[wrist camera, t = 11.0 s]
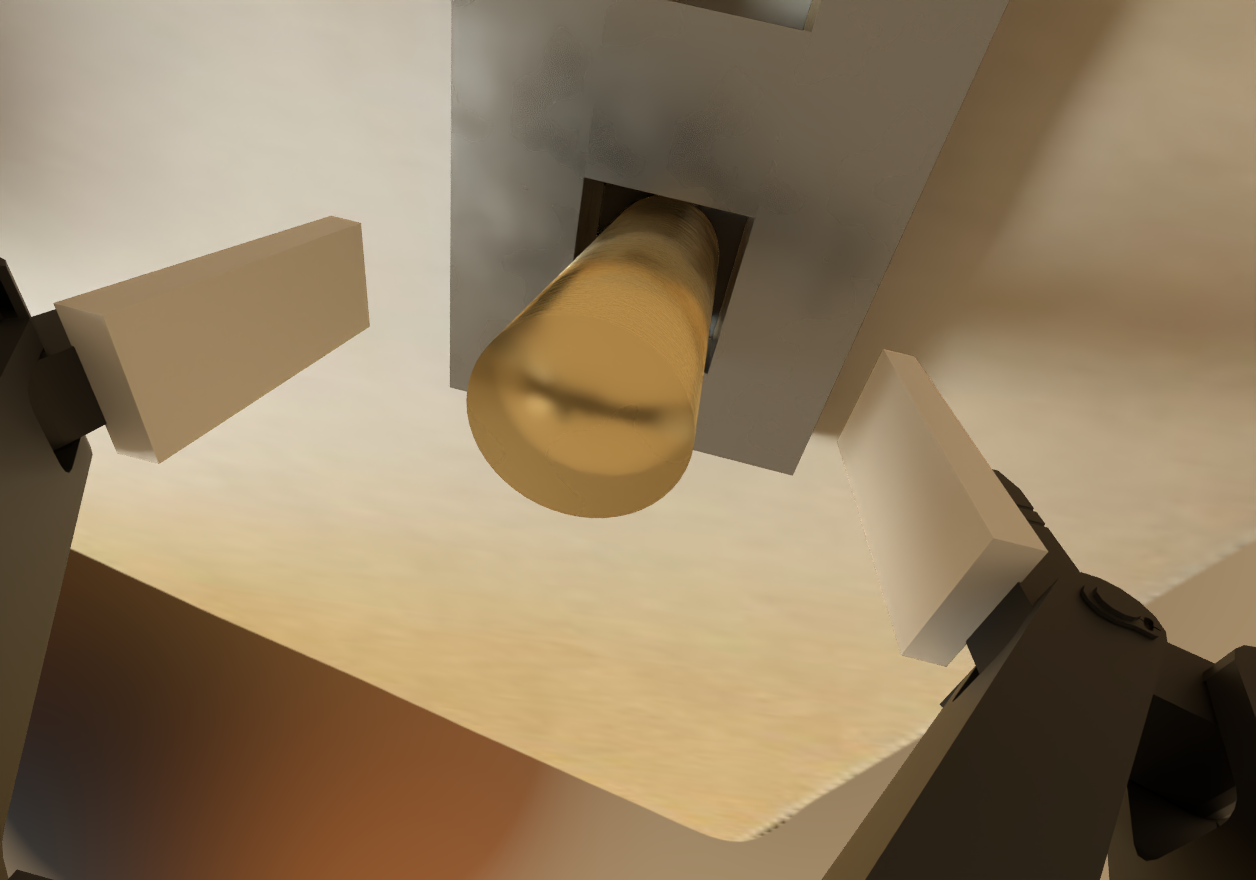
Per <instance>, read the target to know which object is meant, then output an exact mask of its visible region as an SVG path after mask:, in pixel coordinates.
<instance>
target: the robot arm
mask: <svg viewBox="0 0 1256 880" xmlns="http://www.w3.org/2000/svg"><path fill="white" fill-rule="evenodd" d="M54 306H55V308H56V309H55V310H52V311H49V312H46V313H42V314H39V315H36V316H33V317H31V315H30V313H29V311H28V309H27V306H26V304H25V302H24V300H23V298H22V295H21V293H20V291H19V289H18V287H17V285H16V282H15V280H14V278H13V276H12V274H11V271H10V269H9V267H8V265H7V263H6V260H4V259H2V258H0V880H52V879H48V878H45V877H41V876H38V875H34V874H31V873H27V872H23V871H20V870H16V871H15V872H14V873H13V875H12V876H11V877H10V878H9V879H8V875H7V871H6V867H5V864H4V860H3V851H2V840H3V832H4V826H5V822H6V818H7V813H8V809H9V805H10V800H11V797H12V792H13V788H14V783H15V780H16V775H17V771H18V767H19V762H20V758H21V754H22V750H23V746H24V741H25V737H26V733H27V729H28V725H29V720H30V716H31V712H32V708H33V703H34V699H35V695H36V691H37V687H38V682H39V678H40V674H41V669H42V666H43V661H44V657H45V653H46V649H47V644H48V640H49V636H50V631H51V627H52V623H53V618H54V615H55V611H56V606H57V602H58V598H59V594H60V589H61V585H62V581H63V577H64V573H65V568H66V564H67V560H68V556H69V551H70V547H71V543H72V539H73V535H74V530H75V526H76V522H77V518H78V513H79V509H80V505H81V501H82V496H83V492H84V488H85V484H86V480H87V475H88V471H89V467H90V463H91V458H92V450H91V447H90V444H89V442H88V440H87V438H86V436H85V435H86V434H88V433H90V432H92V431H94V430H95V429H97V428H99V427H101V426H103V425H106V428H107V430H108V432H109V435H110V437H111V440H112V442H113V444H114V447H115V449H116V451H117V453H118V454H122V455H126V456H130V457H134V458H138V459H142V460H145V461H149V462H153V463H157V464H159V463H161V462H163V461H164V460H166V459H167V458H169V457H170V456H172V455H173V454H175V453H176V452H178V451H179V450H181V449H182V448H184V447H186V446H187V445H189V444H190V443H192V442H193V441H195V440H196V439H198V438H199V437H201V436H202V435H204V434H205V433H207V432H208V431H210V430H212V429H213V428H215V427H216V426H218V425H219V424H221V423H222V422H224V421H225V420H227V419H228V418H230V417H231V416H233V415H235V414H236V413H238V412H239V411H241V410H242V409H244V408H245V407H247V406H248V405H250V404H251V403H253V402H254V401H256V400H258V399H259V398H261V397H262V396H264V395H265V394H267V393H268V392H270V391H271V390H273V389H274V388H276V387H277V386H279V385H281V384H282V383H284V382H285V381H287V380H288V379H290V378H291V377H293V376H294V375H296V374H297V373H299V372H300V371H302V370H303V369H305V368H307V367H308V366H310V365H311V364H313V363H314V362H316V361H317V360H319V359H320V358H322V357H323V356H325V355H326V354H328V353H330V352H331V351H333V350H334V349H336V348H337V347H339V346H340V345H342V344H343V343H345V342H346V341H348V340H349V339H351V338H353V337H354V336H356V335H357V334H359V333H360V332H362V331H363V330H365V329H366V328H368V327H369V326H370V323H369V312H368V300H367V289H366V277H365V266H364V254H363V243H362V231H361V223H359V222H355V221H351V220H346V219H342V218H338V217H334V216H329V217H326V218H323V219H320V220H317V221H313V222H310V223H307V224H304V225H301V226H297V227H294V228H291V229H288V230H285V231H282V232H278V233H275V234H272V235H269V236H266V237H262V238H259V239H256V240H253V241H250V242H247V243H243V244H240V245H237V246H234V247H231V248H227V249H224V250H221V251H218V252H215V253H212V254H208V255H205V256H202V257H199V258H196V259H192V260H189V261H186V262H183V263H180V264H177V265H173V266H170V267H167V268H164V269H161V270H158V271H154V272H151V273H148V274H145V275H142V276H138V277H135V278H132V279H129V280H126V281H123V282H119V283H116V284H113V285H110V286H107V287H103V288H100V289H97V290H94V291H91V292H88V293H84V294H81V295H78V296H75V297H72V298H68V299H65V300H62V301H59V302H56V303H54ZM837 443H838V446H839V449H840V453H841V456H842V459H843V463H844V466H845V469H846V473H847V476H848V479H849V483H850V486H851V489H852V493H853V496H854V499H855V503H856V506H857V509H858V513H859V516H860V519H861V523H862V526H863V530H864V533H865V536H866V540H867V543H868V546H869V550H870V553H871V556H872V560H873V563H874V566H875V570H876V573H877V576H878V580H879V583H880V586H881V590H882V593H883V596H884V600H885V603H886V606H887V610H888V613H889V616H890V620H891V623H892V626H893V630H894V633H895V636H896V640H897V643H898V647H899V650H900V653H901V655H902V656H906V657H910V658H914V659H918V660H922V661H926V662H930V663H934V664H937V665H941V666H945V667H947V666H948V664H949V663H950V662H951V661H952V660H953V659H954V658H955V657H956V655H957V654H958V653H959V652H960V651H961V650H962V649H963V647H964V646H965V645H966V644H967V646H968V648H969V651H970V653H971V655H972V658H973V660H974V662H975V665H976V666H975V667H974V668H973V669H972V670H971V671H970V673H969V674H968V675H967V676H966V677H965V678H964V679H963V680H962V681H961V682H960V683H959V684H958V685H957V686H956V687H955V689H954V690H953V691H952V692H951V693H950V694H949V695H948V696H947V697H946V698H945V699H944V700H943V701H942V702H941V703H940V705H941V706H942V707H943V709H942V710H941V712H940V713H939V714H938V716H937V717H936V719H935V720H934V721H933V723H932V724H931V726H930V727H929V728H928V730H927V731H926V733H925V734H924V736H923V737H922V738H921V740H920V741H919V743H918V744H917V745H916V747H915V748H914V750H913V751H912V753H911V754H910V755H909V757H908V758H907V760H906V761H905V763H904V764H903V765H902V767H901V768H900V770H899V771H898V772H897V774H896V775H895V777H894V778H893V779H892V781H891V782H890V784H889V785H888V787H887V788H886V789H885V791H884V792H883V794H882V795H881V797H880V798H879V799H878V801H877V802H876V804H875V805H874V806H873V808H872V809H871V811H870V812H869V813H868V815H867V816H866V818H865V819H864V820H863V822H862V823H861V825H860V826H859V828H858V829H857V830H856V832H855V833H854V835H853V836H852V838H851V839H850V841H849V842H848V843H847V845H846V846H845V847H844V849H843V850H842V852H841V853H840V855H839V856H838V857H837V859H836V860H835V862H834V863H833V864H832V866H831V867H830V869H829V870H828V871H827V873H826V874H825V876H824V877H823V879H822V880H1100V878H1101V874H1102V871H1103V867H1104V864H1105V860H1106V857H1107V853H1108V866H1109V879H1110V880H1256V647H1252V646H1245V645H1244V646H1241V647H1239V648H1236V649H1235V650H1233V651H1232V652H1230V653H1229V654H1228V655H1226V656H1225V657H1223V658H1222V659H1221V660H1219V661H1218V662H1217V663H1212V662H1210V661H1208V660H1206V659H1203V658H1201V657H1199V656H1197V655H1195V654H1192V653H1190V652H1188V651H1185V650H1183V649H1181V648H1179V647H1177V646H1174V645H1172V644H1170V643H1168V642H1167V637H1166V631H1165V630H1164V628H1163V627H1162V626H1161V624H1160V623H1159V621H1158V620H1157V618H1156V617H1155V616H1154V615H1153V614H1152V613H1151V612H1150V611H1149V610H1148V609H1146V608H1145V607H1144V606H1143V605H1142V604H1141V603H1140V602H1139V601H1137V600H1136V599H1135V598H1133V597H1132V596H1130V595H1129V594H1127V593H1126V592H1125V591H1123V590H1122V589H1120V588H1118V587H1116V586H1114V585H1112V584H1110V583H1108V582H1106V581H1104V580H1102V579H1101V578H1098V577H1095V576H1091V575H1088V574H1085V573H1082V572H1079V570H1078V569H1077V567H1076V566H1075V565H1074V563H1073V562H1072V560H1071V559H1070V558H1069V556H1068V555H1067V554H1066V552H1065V551H1064V549H1063V548H1062V547H1061V545H1060V544H1059V542H1058V541H1057V540H1056V538H1055V537H1054V536H1053V534H1052V533H1051V531H1050V530H1049V529H1048V528H1047V527H1044V525H1045V523H1044V522H1043V520H1042V519H1041V517H1040V516H1039V515H1038V513H1037V512H1035V511H1033V509H1034V508H1033V506H1032V505H1031V504H1030V502H1029V501H1028V499H1027V498H1026V497H1025V495H1024V494H1023V493H1022V491H1021V490H1020V489H1019V488H1018V487H1017V486H1016V485H1014V484H1013V483H1012V482H1011V481H1010V480H1008V479H1007V478H1006V477H1005V476H1004V475H1003V474H1001V473H1000V472H999V471H997V470H993V469H991V467H990V466H989V464H988V463H987V461H986V460H985V458H984V457H983V456H982V454H981V453H980V451H979V450H978V448H977V447H976V445H975V444H974V442H973V441H972V440H971V438H970V437H969V435H968V434H967V432H966V431H965V429H964V428H963V426H962V425H961V423H960V422H959V421H958V419H957V418H956V416H955V415H954V413H953V412H952V410H951V409H950V407H949V406H948V404H947V403H946V402H945V400H944V399H943V397H942V396H941V394H940V393H939V391H938V390H937V388H936V387H935V385H934V384H933V383H932V381H931V380H930V378H929V377H928V375H927V374H926V372H925V371H924V369H923V368H922V367H921V365H920V364H919V362H918V361H917V359H916V358H915V356H911V355H907V354H903V353H899V352H895V351H890V350H886V349H883V350H882V352H881V354H880V356H879V358H878V360H877V362H876V364H875V366H874V368H873V370H872V372H871V374H870V376H869V378H868V380H867V382H866V384H865V386H864V388H863V390H862V392H861V394H860V396H859V398H858V400H857V402H856V404H855V406H854V409H853V411H852V413H851V415H850V417H849V419H848V421H847V423H846V425H845V427H844V429H843V431H842V433H841V435H840V437H839V439H838V441H837Z"/></svg>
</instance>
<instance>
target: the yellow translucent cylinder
mask: <svg viewBox="0 0 1256 880" xmlns="http://www.w3.org/2000/svg"><path fill="white" fill-rule="evenodd" d="M718 265H719V244H718V239H717V236H716V232H715V230H714V228H713V226H712V224H711V223H710V221H709V219H708V218H707V217H706V216H705V214H704V213H703V212H702V211H701V210H700V209H698V208H697V207H696V206H695V205H693V204H692V203H690V202H686V201H682V200H678V199H673V198H669V197H665V196H661V195H657V196H651V197H647V198H644V199H641V200H639V201H637V202H635V203H634V204H632V205H630V206H629V207H628V208H627V209H625V210H624V211H623V212H622V213H621V214H620V215H619V216H618V217H617V218H616V219H615V220H614V221H613V222H612V223H611V224H610V225H609V226H608V227H607V228H606V229H605V230H604V231H603V232H602V233H601V234H600V235H599V236H598V237H597V238H596V239H595V240H594V241H593V242H592V243H591V244H590V245H589V246H588V247H587V248H586V249H585V250H584V251H583V252H582V253H581V254H580V255H579V256H578V257H577V258H576V259H575V260H574V261H573V262H572V263H571V264H570V265H569V266H568V267H567V268H566V269H565V270H564V271H563V272H562V273H561V274H560V275H559V276H558V277H557V278H555V279H554V280H553V281H552V282H551V283H550V284H549V285H548V286H547V287H546V288H545V289H544V290H543V291H542V292H541V293H540V294H539V295H538V296H537V297H536V298H535V299H534V300H533V301H532V302H531V303H530V304H529V305H528V306H527V307H526V308H525V309H524V310H523V311H522V312H521V313H520V314H519V315H518V316H517V317H516V318H515V319H514V320H513V321H512V322H511V323H510V324H509V325H508V326H507V327H506V328H505V329H504V330H503V331H502V332H501V333H500V334H499V335H498V336H497V337H496V338H495V339H494V340H493V341H492V342H491V343H490V344H489V345H488V346H487V347H486V348H485V349H484V351H483V352H482V354H481V355H480V357H479V358H478V360H477V361H476V363H475V366H474V368H473V370H472V373H471V376H470V380H469V383H468V389H467V414H468V419H469V424H470V427H471V430H472V433H473V436H474V439H475V441H476V443H477V445H478V447H479V449H480V451H481V452H482V454H483V456H484V457H485V459H486V460H487V462H488V463H489V464H490V466H491V467H492V468H493V469H494V471H495V472H496V473H497V474H498V475H499V476H500V477H501V478H502V479H503V480H504V481H505V482H506V483H508V484H509V485H510V486H511V487H512V488H514V489H515V490H516V491H518V492H519V493H521V494H522V495H524V496H525V497H526V498H528V499H530V500H532V501H534V502H536V503H537V504H540V505H542V506H544V507H547V508H549V509H551V510H554V511H558V512H561V513H564V514H569V515H573V516H579V517H588V518H608V517H617V516H622V515H626V514H630V513H633V512H636V511H639V510H642V509H644V508H646V507H648V506H650V505H652V504H654V503H655V502H657V501H658V500H659V499H661V498H662V497H664V496H665V495H666V494H667V493H668V492H669V491H670V490H671V489H672V488H673V487H674V486H675V485H676V484H677V482H678V481H679V480H680V478H681V477H682V475H683V473H684V472H685V470H686V468H687V466H688V463H689V461H690V458H691V455H692V451H693V446H694V440H695V433H696V426H697V418H698V411H699V404H700V396H701V389H702V382H703V375H704V367H705V360H706V353H707V345H708V338H709V331H710V324H711V316H712V309H713V302H714V294H715V287H716V280H717V273H718Z"/></svg>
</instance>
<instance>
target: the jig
mask: <svg viewBox="0 0 1256 880" xmlns="http://www.w3.org/2000/svg"><path fill="white" fill-rule="evenodd" d="M1008 2H1009V0H812V2H811V5H810V9H809V12H808V16H807V19H806V22H805V26H804V29H803V30H799V29H794V28H790V27H785V26H781V25H776V24H772V23H767V22H763V21H758V20H754V19H749V18H745V17H740V16H736V15H731V14H727V13H722V12H718V11H713V10H709V9H704V8H700V7H695V6H691V5H686V4H682V3H677V2H673V1H668V0H452V36H451V263H450V387H451V388H455V389H459V390H463V391H467V389H468V383H469V380H470V376H471V373H472V370H473V368H474V366H475V363H476V361H477V360H478V358H479V357H480V355H481V354H482V352H483V351H484V349H485V348H486V347H487V346H488V345H489V344H490V343H491V342H492V341H493V340H494V339H495V338H496V337H497V336H498V335H499V334H500V333H501V332H502V331H503V330H504V329H505V328H506V327H507V326H508V325H509V324H510V323H511V322H512V321H513V320H514V319H515V318H516V317H517V316H518V315H519V314H520V313H521V312H522V311H523V310H524V309H525V308H526V307H527V306H528V305H529V304H530V303H531V302H532V301H533V300H534V299H535V298H536V297H537V296H538V295H539V294H540V293H541V292H542V291H543V290H544V289H545V288H546V287H547V286H548V285H549V284H550V283H551V282H552V281H553V280H554V279H555V278H557V277H558V276H559V275H560V274H561V273H562V272H563V271H564V270H565V269H566V268H567V267H568V266H569V265H570V264H571V263H572V262H573V261H574V260H575V259H576V258H577V257H578V256H579V255H580V254H581V253H582V252H583V251H584V250H585V249H586V248H587V247H588V246H589V245H590V244H591V243H592V242H593V241H594V240H595V239H596V236H597V230H598V223H599V217H600V210H601V203H602V197H603V190H604V183H605V182H606V183H610V184H615V185H619V186H623V187H627V188H631V189H636V190H640V191H644V192H648V193H652V194H657V195H661V196H665V197H669V198H673V199H678V200H682V201H686V202H690V203H694V204H699V205H703V206H707V207H711V208H715V209H720V210H724V211H728V212H732V213H736V214H741V215H745V216H748V218H747V222H746V225H745V228H744V232H743V235H742V238H741V242H740V245H739V249H738V252H737V255H736V259H735V262H734V266H733V269H732V272H731V276H730V279H729V282H728V286H727V289H726V293H725V296H724V299H723V303H722V306H721V309H720V313H719V316H718V320H717V323H716V326H715V330H714V333H713V336H712V338H711V337H709V338H708V345H707V353H706V360H705V367H704V375H703V382H702V389H701V396H700V404H699V411H698V418H697V426H696V433H695V440H694V446H693V450H696V451H699V452H703V453H707V454H711V455H715V456H719V457H723V458H727V459H730V460H734V461H738V462H742V463H746V464H750V465H754V466H758V467H761V468H765V469H769V470H773V471H777V472H781V473H785V474H789V475H792V476H793V474H794V471H795V469H796V467H797V465H798V463H799V460H800V458H801V456H802V454H803V452H804V450H805V447H806V445H807V443H808V441H809V439H810V436H811V434H812V432H813V430H814V428H815V425H816V423H817V421H818V419H819V417H820V414H821V412H822V410H823V408H824V406H825V403H826V401H827V399H828V397H829V395H830V392H831V390H832V388H833V386H834V384H835V381H836V379H837V377H838V375H839V373H840V371H841V368H842V366H843V364H844V362H845V360H846V357H847V355H848V353H849V351H850V349H851V346H852V344H853V342H854V340H855V338H856V335H857V333H858V331H859V329H860V327H861V324H862V322H863V320H864V318H865V316H866V313H867V311H868V309H869V307H870V305H871V302H872V300H873V298H874V296H875V294H876V292H877V289H878V287H879V285H880V283H881V281H882V278H883V276H884V274H885V272H886V270H887V267H888V265H889V263H890V261H891V259H892V256H893V254H894V252H895V250H896V248H897V245H898V243H899V241H900V239H901V237H902V234H903V232H904V230H905V228H906V226H907V223H908V221H909V219H910V217H911V215H912V213H913V210H914V208H915V206H916V204H917V202H918V199H919V197H920V195H921V193H922V191H923V188H924V186H925V184H926V182H927V180H928V177H929V175H930V173H931V171H932V169H933V166H934V164H935V162H936V160H937V158H938V155H939V153H940V151H941V149H942V147H943V144H944V142H945V140H946V138H947V136H948V134H949V131H950V129H951V127H952V125H953V123H954V120H955V118H956V116H957V114H958V112H959V109H960V107H961V105H962V103H963V101H964V98H965V96H966V94H967V92H968V90H969V87H970V85H971V83H972V81H973V79H974V76H975V74H976V72H977V70H978V68H979V65H980V63H981V61H982V59H983V57H984V55H985V52H986V50H987V48H988V46H989V44H990V41H991V39H992V37H993V35H994V33H995V30H996V28H997V26H998V24H999V22H1000V19H1001V17H1002V15H1003V13H1004V11H1005V8H1006V6H1007V4H1008Z"/></svg>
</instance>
